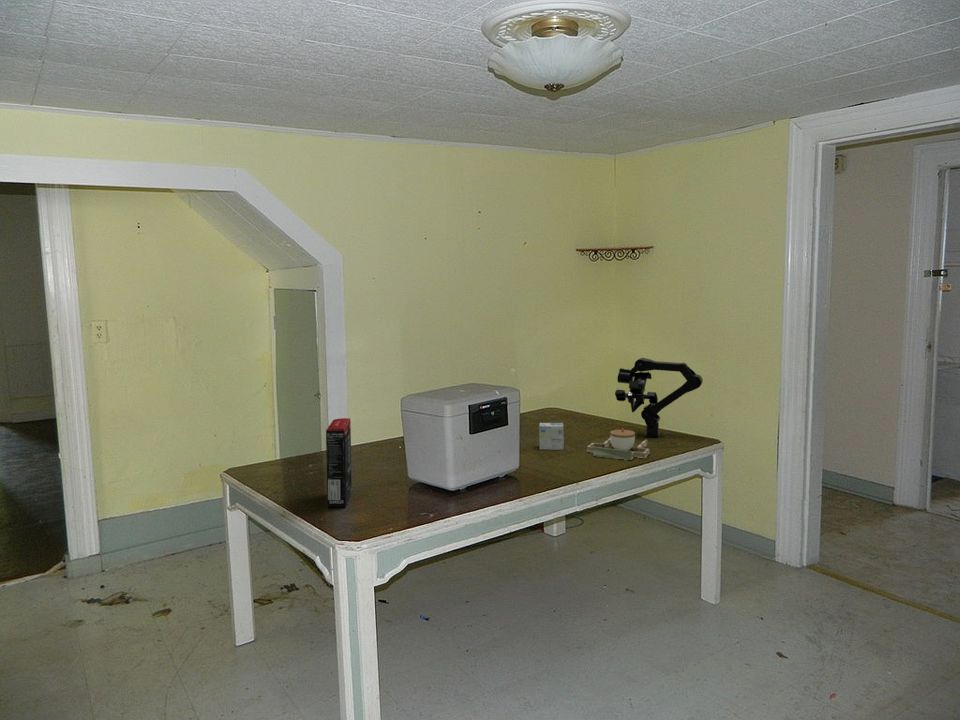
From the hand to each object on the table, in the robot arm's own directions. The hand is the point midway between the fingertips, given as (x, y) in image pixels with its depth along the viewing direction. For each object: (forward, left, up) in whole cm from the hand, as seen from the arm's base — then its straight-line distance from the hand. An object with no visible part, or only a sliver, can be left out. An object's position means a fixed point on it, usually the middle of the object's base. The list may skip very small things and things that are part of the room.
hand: (632, 411), depth 321 cm
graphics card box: (+123, -70, -14) cm, 142 cm away
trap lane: (+19, 0, -14) cm, 23 cm away
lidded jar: (+17, 0, -14) cm, 22 cm away
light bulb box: (+27, -29, -14) cm, 42 cm away
